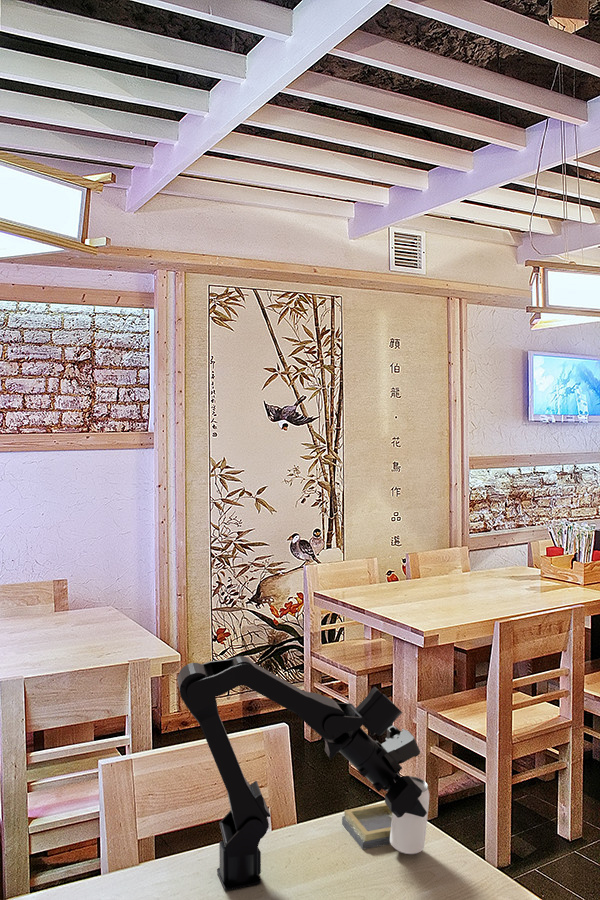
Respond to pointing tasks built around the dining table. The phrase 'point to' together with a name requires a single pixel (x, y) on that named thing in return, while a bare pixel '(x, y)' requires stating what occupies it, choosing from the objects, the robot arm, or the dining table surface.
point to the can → (411, 825)
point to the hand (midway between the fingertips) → (418, 807)
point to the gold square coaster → (369, 825)
